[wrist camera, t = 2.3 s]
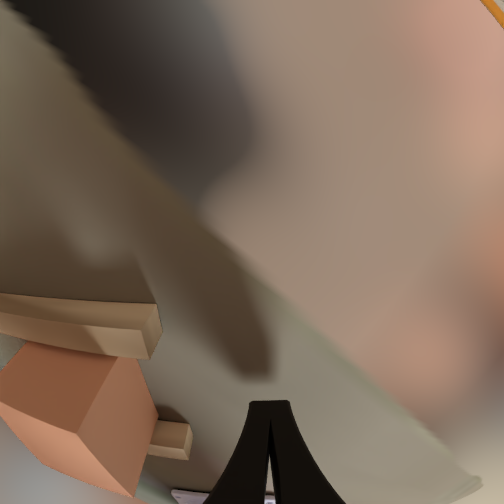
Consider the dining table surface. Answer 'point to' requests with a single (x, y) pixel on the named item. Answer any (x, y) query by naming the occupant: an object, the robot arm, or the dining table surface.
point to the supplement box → (496, 9)
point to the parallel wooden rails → (96, 342)
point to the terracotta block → (80, 413)
